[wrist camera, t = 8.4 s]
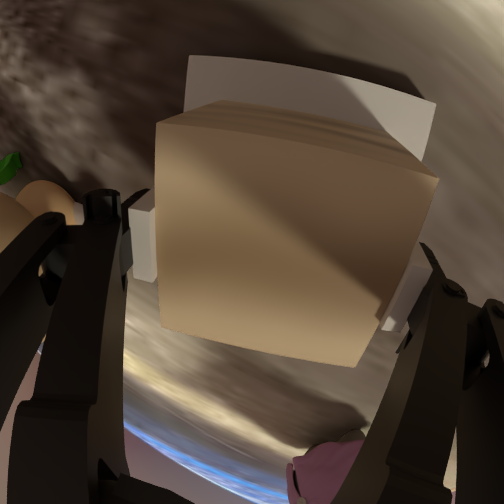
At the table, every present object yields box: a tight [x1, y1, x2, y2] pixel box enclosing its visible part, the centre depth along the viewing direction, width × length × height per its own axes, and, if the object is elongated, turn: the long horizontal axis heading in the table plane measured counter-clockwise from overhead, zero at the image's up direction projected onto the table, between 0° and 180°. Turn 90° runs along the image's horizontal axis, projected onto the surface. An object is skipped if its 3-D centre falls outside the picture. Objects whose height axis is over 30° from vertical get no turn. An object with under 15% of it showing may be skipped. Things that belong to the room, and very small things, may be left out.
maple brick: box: [155, 100, 439, 368], centre depth 13 cm, size 8×8×7 cm
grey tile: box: [184, 55, 436, 161], centre depth 16 cm, size 12×12×2 cm
